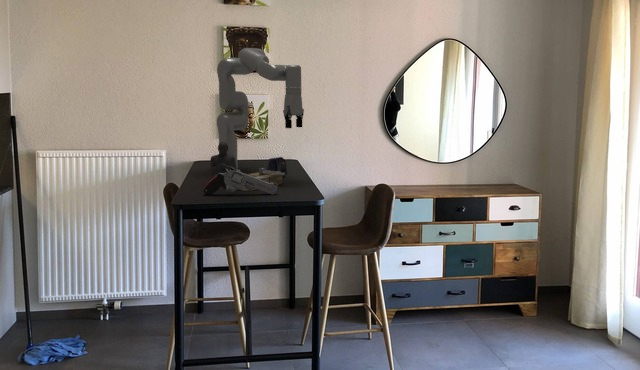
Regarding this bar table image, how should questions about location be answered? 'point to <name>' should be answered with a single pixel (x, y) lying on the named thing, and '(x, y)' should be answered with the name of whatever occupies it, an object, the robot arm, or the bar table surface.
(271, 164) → the rock
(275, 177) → the wooden latch block
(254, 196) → the bar table surface
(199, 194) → the bar table surface
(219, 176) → the revolver
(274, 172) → the bar
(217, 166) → the figurine
